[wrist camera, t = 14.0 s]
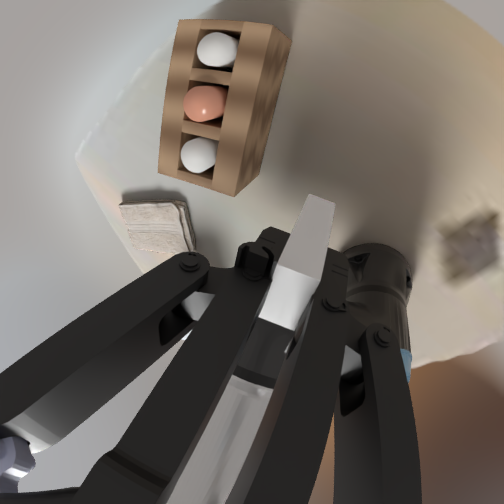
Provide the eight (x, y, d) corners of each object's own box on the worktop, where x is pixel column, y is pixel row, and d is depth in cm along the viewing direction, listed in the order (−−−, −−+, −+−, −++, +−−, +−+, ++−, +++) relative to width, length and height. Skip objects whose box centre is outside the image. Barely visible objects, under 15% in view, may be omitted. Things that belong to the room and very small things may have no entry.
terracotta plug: (241, 117, 36) (212, 125, 28) (214, 111, 36) (180, 118, 29) (247, 88, 33) (219, 88, 26) (219, 83, 34) (186, 84, 26)
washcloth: (201, 250, 56) (193, 259, 53) (138, 245, 62) (130, 252, 59) (187, 196, 49) (178, 202, 47) (123, 200, 56) (114, 206, 53)
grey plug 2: (235, 159, 40) (208, 176, 33) (210, 152, 41) (179, 168, 34) (240, 133, 38) (213, 144, 31) (214, 126, 39) (182, 136, 31)
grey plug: (254, 72, 32) (227, 68, 25) (226, 68, 33) (194, 64, 26) (260, 45, 29) (235, 33, 22) (231, 41, 30) (200, 31, 23)
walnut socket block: (258, 174, 42) (234, 197, 34) (193, 155, 44) (157, 172, 36) (291, 40, 29) (272, 24, 21) (215, 31, 31) (179, 19, 23)
